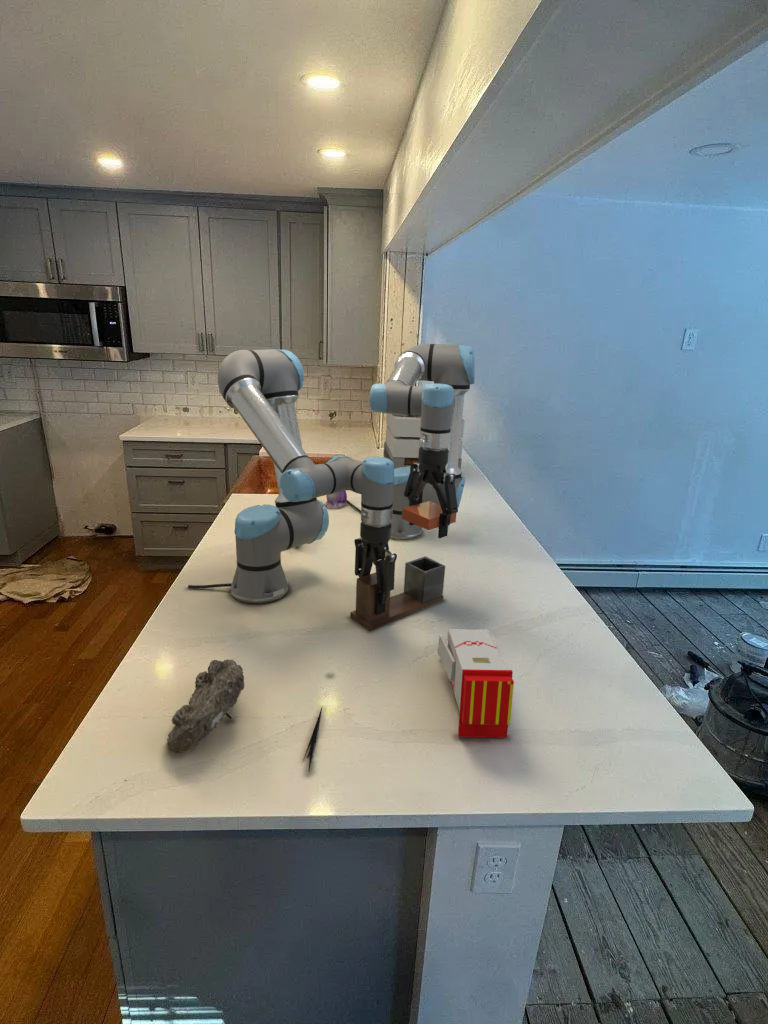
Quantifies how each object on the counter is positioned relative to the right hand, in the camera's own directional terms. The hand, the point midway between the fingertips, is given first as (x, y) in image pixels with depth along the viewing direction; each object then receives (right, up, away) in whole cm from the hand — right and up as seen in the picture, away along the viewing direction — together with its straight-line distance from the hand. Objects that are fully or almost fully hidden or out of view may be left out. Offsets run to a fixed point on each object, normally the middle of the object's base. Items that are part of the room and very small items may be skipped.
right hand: (427, 530), depth 149 cm
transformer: (+6, +24, +126) cm, 128 cm away
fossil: (-44, -34, -41) cm, 69 cm away
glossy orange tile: (0, +1, -1) cm, 2 cm away
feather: (-24, -35, -40) cm, 59 cm away
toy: (+6, -33, -30) cm, 45 cm away
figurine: (-31, +7, +77) cm, 83 cm away
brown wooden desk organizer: (-8, -21, +1) cm, 22 cm away
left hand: (-14, -19, -6) cm, 25 cm away
